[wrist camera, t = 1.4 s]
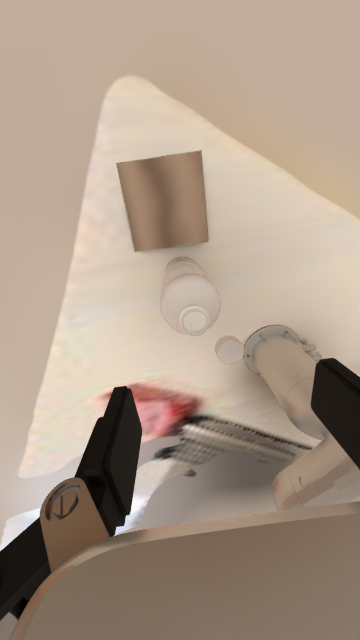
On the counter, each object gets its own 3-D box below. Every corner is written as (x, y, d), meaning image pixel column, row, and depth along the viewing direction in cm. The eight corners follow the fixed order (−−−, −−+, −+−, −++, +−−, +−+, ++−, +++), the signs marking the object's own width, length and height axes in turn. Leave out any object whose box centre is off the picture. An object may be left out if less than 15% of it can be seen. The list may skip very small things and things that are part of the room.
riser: (195, 168, 34) (201, 149, 27) (201, 240, 39) (208, 241, 31) (128, 178, 35) (115, 162, 27) (141, 249, 39) (134, 252, 31)
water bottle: (158, 276, 41) (140, 329, 18) (180, 249, 39) (192, 269, 16) (192, 303, 43) (215, 382, 20) (213, 279, 41) (267, 335, 18)
